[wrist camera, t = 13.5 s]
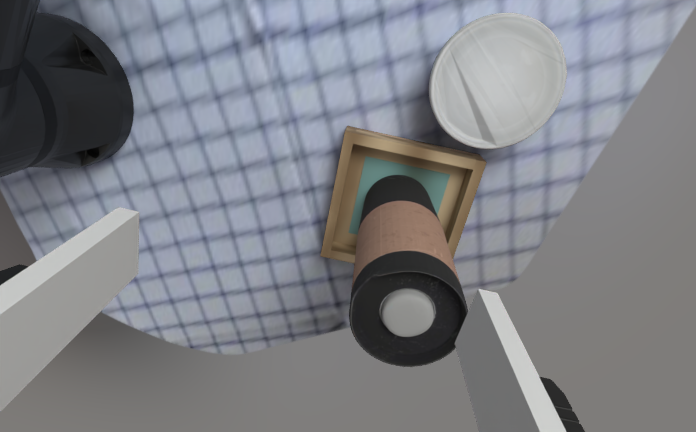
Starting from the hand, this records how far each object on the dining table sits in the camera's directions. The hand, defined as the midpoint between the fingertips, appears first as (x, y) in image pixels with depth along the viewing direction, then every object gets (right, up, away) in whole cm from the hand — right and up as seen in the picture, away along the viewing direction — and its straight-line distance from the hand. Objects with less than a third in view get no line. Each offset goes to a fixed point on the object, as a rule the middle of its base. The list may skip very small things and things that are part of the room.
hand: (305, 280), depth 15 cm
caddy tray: (+7, +4, +29) cm, 30 cm away
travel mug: (+7, +4, +28) cm, 29 cm away
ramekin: (+15, +16, +24) cm, 32 cm away
